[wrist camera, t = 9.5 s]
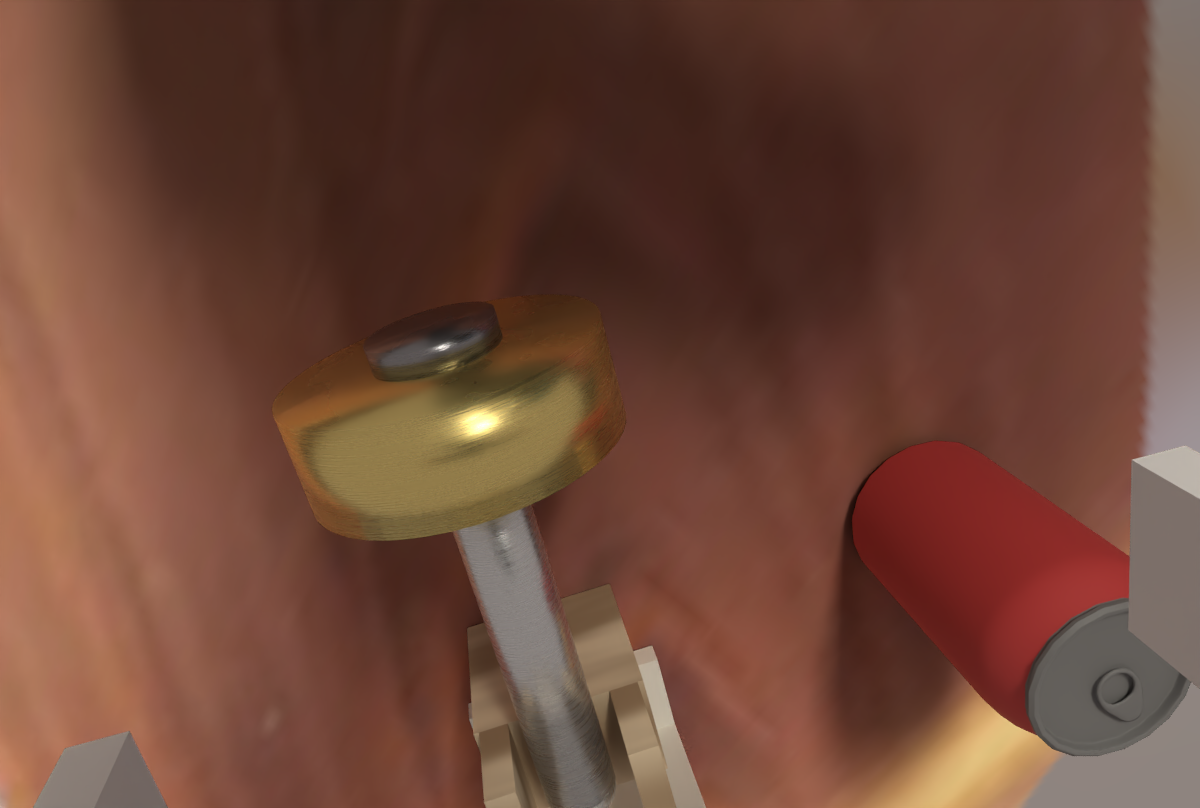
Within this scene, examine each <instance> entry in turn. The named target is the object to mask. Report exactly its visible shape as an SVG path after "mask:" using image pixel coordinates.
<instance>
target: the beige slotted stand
mask: <svg viewBox="0 0 1200 808" xmlns="http://www.w3.org/2000/svg"><path fill="white" fill-rule="evenodd" d="M633 652H634V655H635V658H636V661H637V664H638V667H639V670H640V673H641V675H642V678H643V682H644V685H645V689H646V692H647V696H648V699H649V703H650V706H651V710H652V714H653V717H654V721H655V724H656V728H657V731H658V735H659V739H660V742H661V746H662V749H663V753H664V756H665V760H666V763H667V767H668V769H666V773H667V776H668V780H669V783H670V787H671V790H672V794H673V797H674V801H675V804H676V808H706V806H705V804H704V801H703V798H702V796H701V793H700V790H699V788H698V785H697V782H696V780H695V777H694V774H693V771H692V769H691V766H690V763H689V761H688V758H687V755H686V753H685V750H684V747H683V745H682V742H681V739H680V736H679V734H678V731H677V728H676V726H675V723H674V719H673V715H672V712H671V708H670V704H669V701H668V697H667V693H666V690H665V686H664V682H663V679H662V675H661V671H660V667H659V664H658V660H657V657H656V655H655V652H654V649H653V647H652V646H648V647H645V648H642V649H639V650H636V651H633ZM468 709H469V721H470V723H471V726H472V728H473V719H472V703H469V704H468ZM548 808H551V807H548ZM609 808H644V807H643V804H642V800H641V797H640V794H639V790H638V787H637V784H636V780H635V779H634V780H631V781H628V782H625V783H622V784H619V785H616V792H615V796H614V799H613V802H612V804H611V805H610V807H609Z"/></svg>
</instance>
